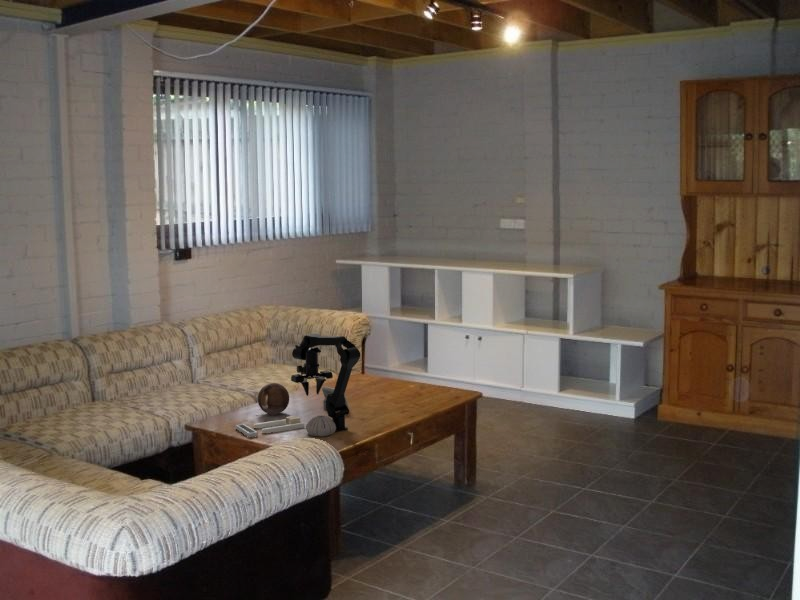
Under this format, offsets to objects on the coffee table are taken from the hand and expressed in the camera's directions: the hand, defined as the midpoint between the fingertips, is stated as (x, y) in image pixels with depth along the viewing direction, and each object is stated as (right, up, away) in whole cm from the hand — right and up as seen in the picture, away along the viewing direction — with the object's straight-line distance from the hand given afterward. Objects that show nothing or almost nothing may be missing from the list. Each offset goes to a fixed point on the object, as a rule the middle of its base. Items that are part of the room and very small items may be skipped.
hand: (312, 394), depth 414 cm
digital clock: (+9, -10, +26) cm, 29 cm away
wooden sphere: (-20, -11, +17) cm, 29 cm away
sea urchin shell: (+5, -16, -17) cm, 24 cm away
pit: (-28, -15, -15) cm, 35 cm away
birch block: (-8, -14, -3) cm, 17 cm away
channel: (-14, -14, -7) cm, 21 cm away
